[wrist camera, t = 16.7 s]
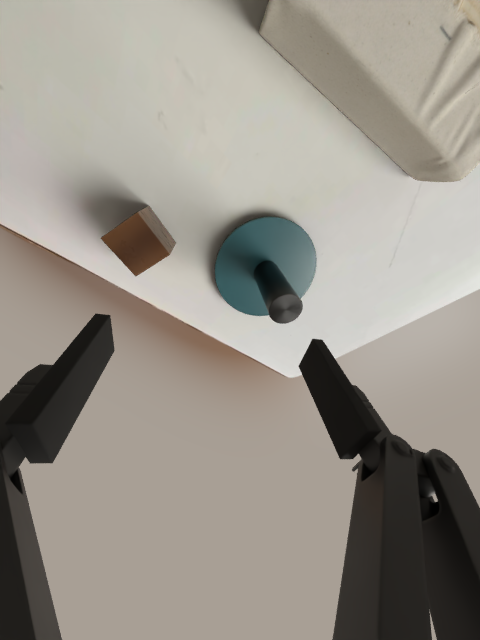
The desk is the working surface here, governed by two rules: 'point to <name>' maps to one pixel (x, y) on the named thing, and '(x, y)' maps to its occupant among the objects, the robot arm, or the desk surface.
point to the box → (393, 73)
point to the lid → (266, 268)
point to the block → (140, 241)
